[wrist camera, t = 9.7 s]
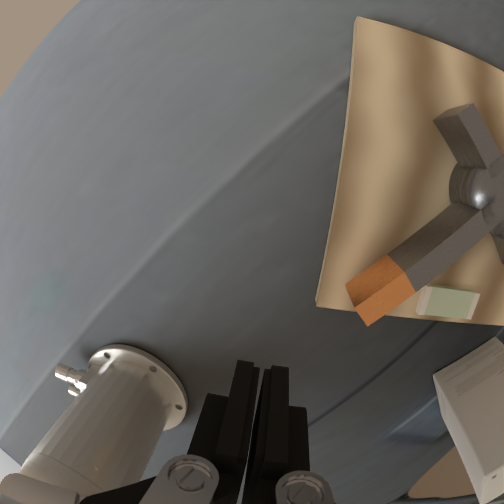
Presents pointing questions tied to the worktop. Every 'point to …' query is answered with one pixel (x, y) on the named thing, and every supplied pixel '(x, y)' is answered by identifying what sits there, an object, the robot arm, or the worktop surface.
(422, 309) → the level window
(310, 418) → the worktop surface
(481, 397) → the supplement box
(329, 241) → the stand plate
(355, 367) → the worktop surface
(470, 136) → the capstan
